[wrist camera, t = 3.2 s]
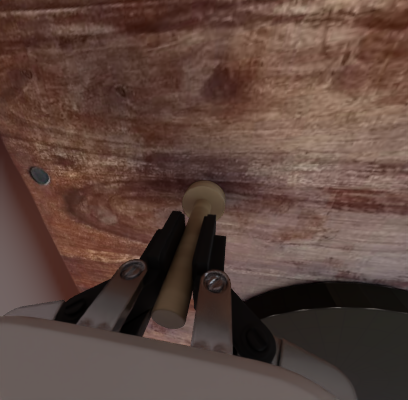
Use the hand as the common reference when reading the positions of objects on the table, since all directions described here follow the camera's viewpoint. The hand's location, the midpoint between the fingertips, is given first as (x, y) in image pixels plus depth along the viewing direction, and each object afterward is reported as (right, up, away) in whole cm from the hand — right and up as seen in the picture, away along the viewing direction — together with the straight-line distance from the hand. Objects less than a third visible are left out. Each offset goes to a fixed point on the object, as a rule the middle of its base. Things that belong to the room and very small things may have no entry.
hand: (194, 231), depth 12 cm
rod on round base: (+1, +2, +4) cm, 5 cm away
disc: (+18, -19, +14) cm, 30 cm away
